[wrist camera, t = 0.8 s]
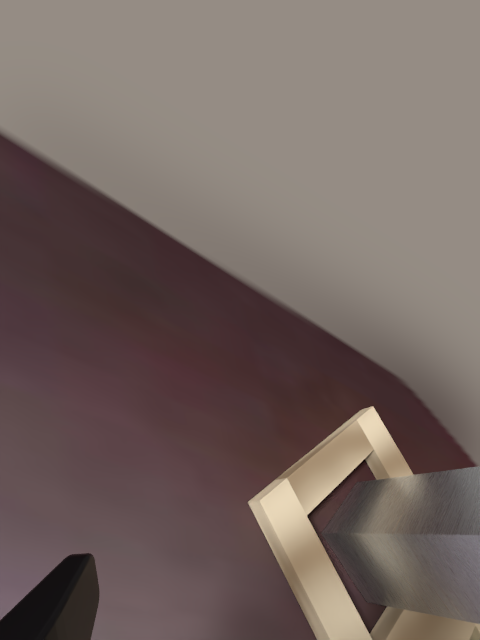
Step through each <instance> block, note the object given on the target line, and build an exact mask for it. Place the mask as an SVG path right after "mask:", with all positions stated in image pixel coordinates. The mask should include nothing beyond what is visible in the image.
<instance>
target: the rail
mask: <svg viewBox="0 0 480 640" xmlns="http://www.w3.org/2000/svg"><path fill="white" fill-rule="evenodd" d="M364 459H365V460H366V462H367V464H368V466H369V467H370V469H371V471H372V473H373V474H374V476H375V478H376V480H379V479H387V478H395V477H403V476H410V475H413V473H412V471H411V470H410V468H409V466H408V465H407V463H406V461H405V460H404V458H403V456H402V454H401V453H400V451H399V449H398V448H397V446H396V444H395V443H394V441H393V439H392V438H391V436H390V434H389V432H388V431H387V429H386V427H385V426H384V424H383V422H382V421H381V419H380V417H379V415H378V414H377V412H376V410H375V409H374V407H373V406H372V407H369V408H366V409H363V410H360V411H359V412H358V413H357V414H355V415H354V416H353V417H352V418H350V419H349V420H348V421H347V422H346V423H344V424H343V425H342V426H341V427H339V428H338V429H337V430H336V431H335V432H333V433H332V434H331V435H330V436H328V437H327V438H326V439H325V440H323V441H322V442H321V443H320V444H319V445H317V446H316V447H315V448H314V449H312V450H311V451H310V452H309V453H307V454H306V455H305V456H304V457H303V458H301V459H300V460H299V461H298V462H296V463H295V464H294V465H293V466H292V467H290V468H289V469H288V470H287V471H285V472H284V473H283V474H282V475H280V476H279V477H278V478H277V479H276V480H274V481H273V482H272V483H271V484H269V485H268V486H267V487H266V488H264V489H263V490H262V491H261V492H260V493H258V494H257V495H256V496H255V497H253V498H252V499H251V500H250V501H248V504H249V506H250V508H251V510H252V511H253V513H254V515H255V517H256V519H257V521H258V523H259V525H260V527H261V529H262V531H263V533H264V535H265V537H266V539H267V541H268V543H269V545H270V547H271V549H272V551H273V553H274V555H275V557H276V559H277V561H278V563H279V565H280V567H281V569H282V571H283V573H284V575H285V577H286V579H287V581H288V583H289V585H290V587H291V589H292V591H293V593H294V595H295V597H296V599H297V601H298V603H299V605H300V607H301V609H302V611H303V613H304V615H305V617H306V619H307V621H308V623H309V625H310V627H311V629H312V631H313V632H314V634H315V636H316V638H317V640H480V624H477V623H472V622H467V621H461V620H456V619H451V618H446V617H441V616H435V615H430V614H425V613H420V612H415V611H410V610H404V609H399V608H394V607H389V606H387V607H386V609H385V611H384V612H383V614H382V615H381V617H380V618H379V620H378V622H377V623H376V625H375V626H374V628H373V629H372V631H371V633H370V634H369V632H368V631H367V629H366V627H365V625H364V623H363V621H362V619H361V617H360V615H359V614H358V612H357V610H356V608H355V606H354V604H353V602H352V600H351V598H350V596H349V595H348V593H347V591H346V589H345V587H344V585H343V583H342V581H341V579H340V578H339V576H338V574H337V572H336V570H335V568H334V566H333V564H332V562H331V561H330V559H329V557H328V555H327V553H326V551H325V549H324V547H323V545H322V544H321V542H320V540H319V538H318V536H317V534H316V532H315V530H314V528H313V526H312V525H311V523H310V521H309V519H308V517H307V515H308V514H309V513H310V512H311V511H312V510H313V509H314V508H315V507H316V506H317V505H318V504H319V503H320V502H321V501H322V500H323V499H324V498H325V497H326V496H327V495H328V494H329V493H330V492H331V491H332V490H333V489H334V488H335V487H336V486H338V485H339V484H340V483H341V482H342V481H343V480H344V479H345V478H346V477H347V476H348V475H349V474H350V473H351V472H352V471H353V470H354V469H355V468H356V467H357V466H358V465H359V464H360V463H361V462H362V461H363V460H364Z"/></svg>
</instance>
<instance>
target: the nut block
mask: <svg viewBox="0 0 480 640" xmlns="http://www.w3.org/2000/svg"><path fill="white" fill-rule="evenodd" d="M321 534H322V535H323V537H324V538H325V540H326V541H327V543H328V544H329V546H330V547H331V549H332V550H333V552H334V553H335V555H336V556H337V558H338V559H339V561H340V562H341V564H342V565H343V567H344V568H345V570H346V572H347V573H348V575H349V576H350V578H351V579H352V581H353V582H354V584H355V585H356V587H357V588H358V590H359V591H360V593H361V594H362V596H363V597H364V599H365V600H366V602H368V603H373V604H379V605H384V606H389V607H394V608H399V609H404V610H410V611H415V612H420V613H425V614H430V615H435V616H441V617H446V618H451V619H456V620H461V621H467V622H472V623H477V624H480V467H473V468H465V469H457V470H449V471H441V472H434V473H426V474H418V475H410V476H403V477H395V478H387V479H379V480H372V481H364V482H357V483H356V484H355V486H354V487H353V489H352V490H351V492H350V493H349V494H348V496H347V497H346V499H345V500H344V501H343V503H342V504H341V506H340V507H339V509H338V510H337V511H336V513H335V514H334V516H333V517H332V519H331V520H330V521H329V523H328V524H327V526H326V527H325V529H324V530H323V531H322V533H321Z"/></svg>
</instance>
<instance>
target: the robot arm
mask: <svg viewBox="0 0 480 640" xmlns="http://www.w3.org/2000/svg"><path fill="white" fill-rule="evenodd" d="M98 603H99V585H98V578H97V572H96V565H95V560H94V557H93V555H92V554H89V553H86V554H72V555H69V556H68V557H66V558H65V559H64V560H63V561H62V562H61V563H60V564H59V565H58V566H56V567H55V568H54V569H53V570H52V571H51V572H50V573H49V574H48V575H47V576H46V577H45V578H44V579H43V580H42V581H41V582H40V583H39V584H38V585H37V586H36V587H35V588H34V589H33V590H31V591H30V592H29V593H28V594H27V595H26V596H25V597H24V598H23V599H22V600H21V601H20V602H19V603H18V604H17V605H16V606H15V607H14V608H13V609H12V610H11V611H10V612H9V613H7V614H6V615H5V616H4V617H3V618H2V619H1V620H0V640H90V639H91V635H92V630H93V626H94V622H95V617H96V613H97V608H98Z"/></svg>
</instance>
